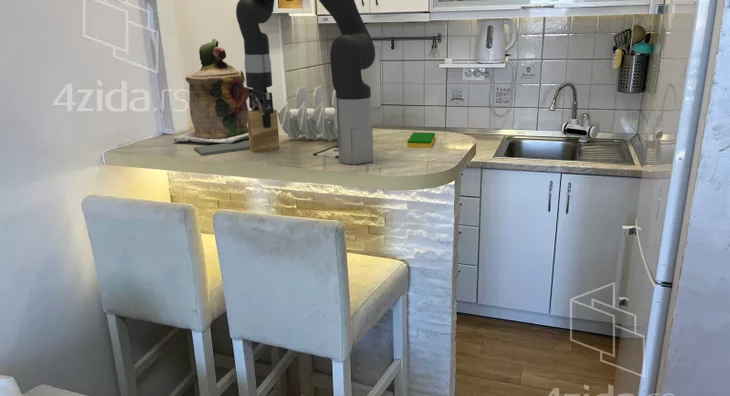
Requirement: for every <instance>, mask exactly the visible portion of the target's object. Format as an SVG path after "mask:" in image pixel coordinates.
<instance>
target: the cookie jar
mask: <svg viewBox="0 0 730 396" xmlns="http://www.w3.org/2000/svg"><path fill="white" fill-rule="evenodd" d="M198 49H199V50H198V53H199V60H200V64H201V68H200V69H199V70H198V71H196V72H194V74H189V75H186V76H185V78H184V79H185V81H186V82H187V83H188V86H189V87H188V89H189V96H188V97H189V102H188V105H189V114H190V115H189V116H190V120H191V124H192V125H193V128H194V131H191V132H185V133H182V134H180V135H179V134H178V135H175V136H172V139H173V140H174V142H177V141H179V142H188V141H189V142H190V141H191V142H193V143H215V144H224V143H233V142H238V141H241V140H242V139H244V138H246V137H249V133H248V123H247V112H246V111H250V110H249V108H248V103H247V100H249V91H248V90H249V89H251V88H249V87H247V86H245V82H246V77H245V75H244V74H245V73H244V72H243V70H236V69H235V68H234V66H232V65H230V64H228V63H227V62H225V61H224V60H225V59H226V57H227V54H226V50H225V49H224V48H223V47H219V41H218V40H217V39H216V38H212V40H211V42H207V43H204V44H202V45H201V46H200V47H199V48H198Z"/></svg>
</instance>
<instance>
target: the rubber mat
mask: <svg viewBox="0 0 730 396" xmlns="http://www.w3.org/2000/svg"><path fill="white" fill-rule="evenodd" d="M193 149H194V151H195V152H197V153H198V154H199V155H200V156H202V157H203V156H209V155H218V154H225V153H231V152H241V151H247V150H250V144H249V139H248V140H242V141H241V140H239V141H235V142H233V143H216V144H211V145H202V146H195V147H193Z"/></svg>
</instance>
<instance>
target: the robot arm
mask: <svg viewBox="0 0 730 396" xmlns="http://www.w3.org/2000/svg"><path fill="white" fill-rule="evenodd" d="M318 1H319V3H320V4H321V5H322V6H323V8H324V9H325V10H326V11H327V12H328V13H329V14H330V16H331V18H333V20H334V21H335V22H336V25H337V27H338V29H339V32H340V34H341V35H339V36H337V37H336V38H335V39H334V40H333V41H332V43H331V47H330V52H329V53H330V54H329V59H330V70H331V82H332V86H333V88H334V89H335V91H336V106H337V131H338V135H337V145H338V154H339V159H338V162H340V163H341V164H346V165H347V164H349V165H360V164H367V163H373V162H374V140H373V139H374V137H373V136H374V135H373V134H374V133H373V132H374V131H373V127H372V108H371V107H372V104H371V103H372V99H371V96H372V95H371V94H372V92H371V91H372V90H371V86H369V85H368V84H366V83H365V82H364V81H363V78H362V77H363V76H362V70H363V71H364V70H366V69H368V68H371V66H372V65H373V64H374V62H375V58H376V47H375V44H374V42H373V39H372V37H371V35H370V33H369V30H368V29H367V26H366V24H365V23H364V20H363V18H362V16H361V14H360V12H359V9H358V7H357V6H358V5H356V4H357V3H356V1H355V0H318ZM274 4H275V0H238V1H237V5H236V6H235V8H236V9H235V16H236V19H237V20H236V21H237V24H238V27H239V30H240V33H241V36H242V39H243V47H244V48H243V49H244V69H245V70H244V71H245V73H244V74H245V84H246V85H245V87H249V88H250V89H249V90H248V91H249V97H248V102H249V109H251V111H252V110H261V111H262V117H263V127H264V128H270V127H271V116H270V115H271V113H273V112H274V111H273V109H274V104H273V103H274V101H273V93H272V92H270V91H269V92H268V88H270V87H272V86H273V74H272V72H273V71H272V61H271V56H270V43H269V42H270V41H269V37H268V35H267V34H266V33H265V32H262V31H261V28H260V24H265V23H266V22H268V21H269V19H270V18H271V17H272V14H273V12H274V9H275V8H274V7H275V5H274ZM334 89H333V90H334Z"/></svg>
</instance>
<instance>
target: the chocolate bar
mask: <svg viewBox="0 0 730 396" xmlns="http://www.w3.org/2000/svg"><path fill="white" fill-rule="evenodd" d="M312 155H313V156H315V157H322V158H331V159H338V160H339V154H338V144H337V145H334V146H331V147H328V148H325V149H323V150H320V151H317V152H314V153H313V154H312Z"/></svg>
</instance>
